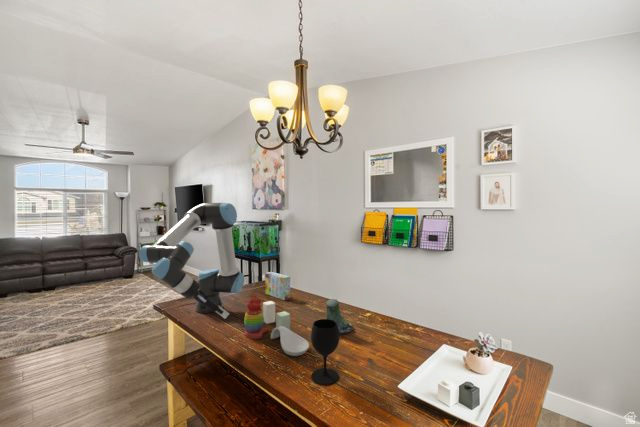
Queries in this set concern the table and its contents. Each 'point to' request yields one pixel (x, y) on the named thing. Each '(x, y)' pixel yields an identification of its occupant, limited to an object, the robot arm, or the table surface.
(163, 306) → the table surface
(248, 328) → the stacking bear
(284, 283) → the snack box
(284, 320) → the sage-green block
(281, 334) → the spoon rest
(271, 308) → the off-white block
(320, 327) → the wine glass
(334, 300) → the tree stump
